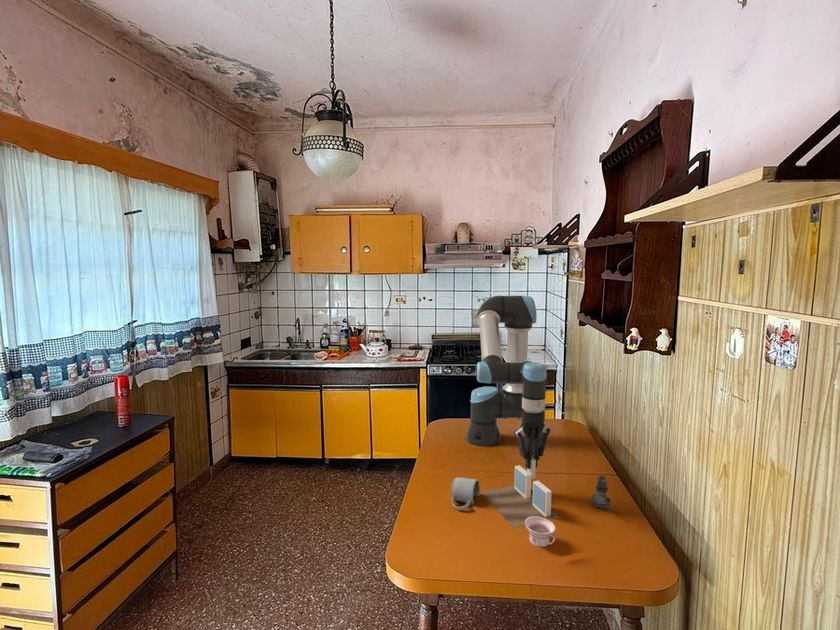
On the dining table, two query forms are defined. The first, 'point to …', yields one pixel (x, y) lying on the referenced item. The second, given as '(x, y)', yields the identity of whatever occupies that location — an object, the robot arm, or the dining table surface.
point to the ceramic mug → (464, 491)
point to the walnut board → (514, 505)
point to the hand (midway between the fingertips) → (530, 476)
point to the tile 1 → (522, 481)
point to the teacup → (540, 530)
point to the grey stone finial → (601, 494)
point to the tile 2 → (542, 498)
